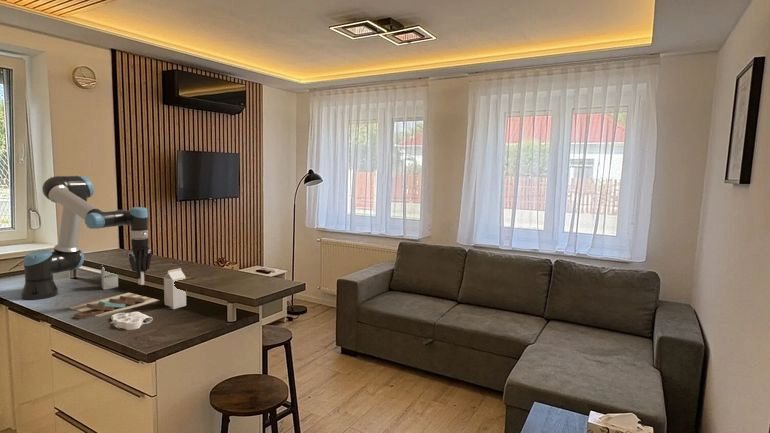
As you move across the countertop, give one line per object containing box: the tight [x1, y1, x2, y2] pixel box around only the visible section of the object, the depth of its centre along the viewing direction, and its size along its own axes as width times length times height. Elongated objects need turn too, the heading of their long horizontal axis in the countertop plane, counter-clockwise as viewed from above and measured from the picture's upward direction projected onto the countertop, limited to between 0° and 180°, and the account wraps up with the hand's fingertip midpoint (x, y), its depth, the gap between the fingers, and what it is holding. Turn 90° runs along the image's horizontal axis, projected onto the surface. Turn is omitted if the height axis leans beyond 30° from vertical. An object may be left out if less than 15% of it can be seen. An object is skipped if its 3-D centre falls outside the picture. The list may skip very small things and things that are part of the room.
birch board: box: [67, 292, 160, 318], centre depth 218 cm, size 26×30×1 cm
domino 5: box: [119, 296, 145, 302], centre depth 219 cm, size 2×5×10 cm
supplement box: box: [100, 267, 119, 290], centre depth 250 cm, size 7×7×13 cm
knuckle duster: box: [108, 311, 154, 331], centre depth 195 cm, size 3×18×15 cm
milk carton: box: [163, 267, 187, 310], centre depth 219 cm, size 7×7×19 cm
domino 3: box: [98, 301, 126, 308], centre depth 210 cm, size 2×5×10 cm
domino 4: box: [109, 299, 135, 305], centre depth 214 cm, size 2×5×10 cm
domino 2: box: [86, 304, 114, 310], centre depth 205 cm, size 2×5×10 cm
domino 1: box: [73, 309, 104, 320], centre depth 201 cm, size 2×5×10 cm
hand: (141, 284), depth 222 cm, fingers closed
